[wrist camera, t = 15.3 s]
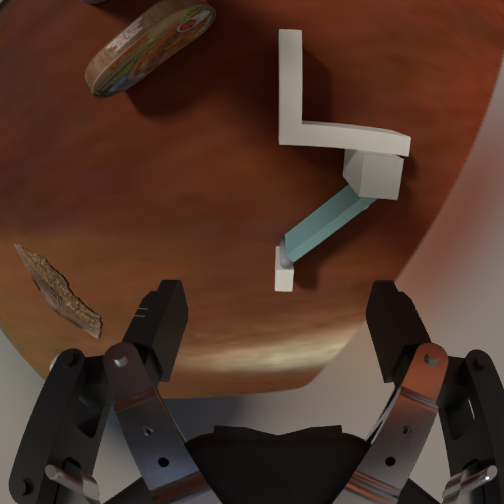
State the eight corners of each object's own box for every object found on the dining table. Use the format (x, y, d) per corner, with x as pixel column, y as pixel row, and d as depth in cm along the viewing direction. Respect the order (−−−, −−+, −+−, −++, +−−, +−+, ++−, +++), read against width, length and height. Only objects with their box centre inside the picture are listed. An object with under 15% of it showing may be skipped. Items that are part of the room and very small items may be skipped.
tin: (120, 98, 28) (79, 103, 21) (108, 80, 26) (66, 82, 19) (224, 22, 23) (207, -1, 16) (209, 4, 22) (188, -22, 14)
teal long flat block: (357, 176, 31) (371, 191, 26) (367, 189, 31) (381, 206, 27) (277, 240, 36) (277, 263, 31) (288, 250, 36) (289, 274, 32)
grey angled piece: (278, 40, 24) (279, 29, 19) (393, 54, 23) (413, 49, 18) (275, 266, 38) (274, 290, 33) (368, 268, 37) (379, 292, 32)
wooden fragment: (114, 329, 49) (112, 333, 48) (88, 341, 52) (86, 345, 51) (27, 226, 38) (23, 229, 37) (10, 252, 42) (7, 255, 41)
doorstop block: (345, 141, 28) (363, 154, 22) (378, 145, 28) (403, 159, 22) (342, 176, 30) (359, 196, 24) (375, 178, 30) (397, 199, 24)
